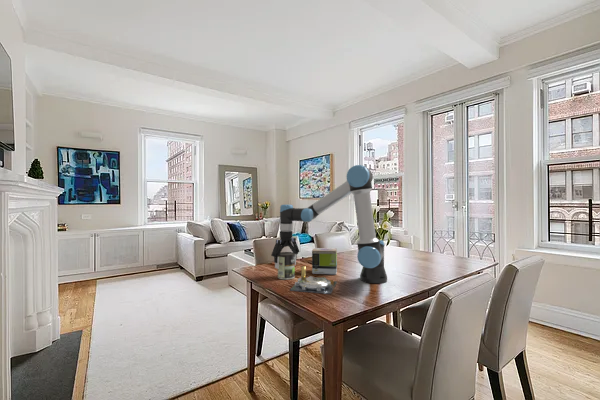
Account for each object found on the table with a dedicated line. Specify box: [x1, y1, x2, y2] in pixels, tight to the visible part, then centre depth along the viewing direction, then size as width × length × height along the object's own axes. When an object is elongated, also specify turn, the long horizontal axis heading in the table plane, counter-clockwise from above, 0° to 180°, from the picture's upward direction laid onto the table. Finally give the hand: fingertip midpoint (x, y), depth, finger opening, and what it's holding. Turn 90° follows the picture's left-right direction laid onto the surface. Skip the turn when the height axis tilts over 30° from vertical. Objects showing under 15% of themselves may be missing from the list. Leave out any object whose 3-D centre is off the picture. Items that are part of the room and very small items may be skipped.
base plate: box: [289, 280, 338, 295], centre depth 157 cm, size 21×21×1 cm
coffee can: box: [277, 251, 296, 280], centre depth 175 cm, size 10×10×14 cm
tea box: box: [311, 247, 338, 275], centre depth 186 cm, size 15×10×15 cm
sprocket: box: [294, 265, 335, 291], centre depth 157 cm, size 21×21×9 cm
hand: (285, 266), depth 175 cm, fingers open, 13 cm apart
